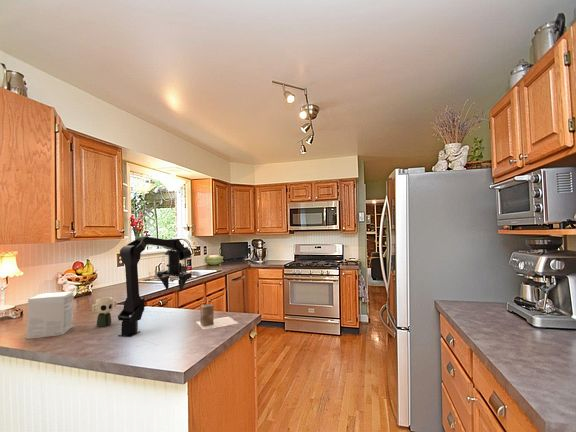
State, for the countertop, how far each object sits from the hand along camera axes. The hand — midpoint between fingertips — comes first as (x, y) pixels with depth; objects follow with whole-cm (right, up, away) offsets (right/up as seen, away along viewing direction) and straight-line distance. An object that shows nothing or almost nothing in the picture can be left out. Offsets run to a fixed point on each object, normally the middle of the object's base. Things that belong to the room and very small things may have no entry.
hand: (174, 290), depth 153 cm
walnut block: (+23, -12, -16) cm, 31 cm away
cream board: (+27, -13, -14) cm, 33 cm away
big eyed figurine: (-30, -14, -13) cm, 35 cm away
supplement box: (-48, -14, -23) cm, 55 cm away
